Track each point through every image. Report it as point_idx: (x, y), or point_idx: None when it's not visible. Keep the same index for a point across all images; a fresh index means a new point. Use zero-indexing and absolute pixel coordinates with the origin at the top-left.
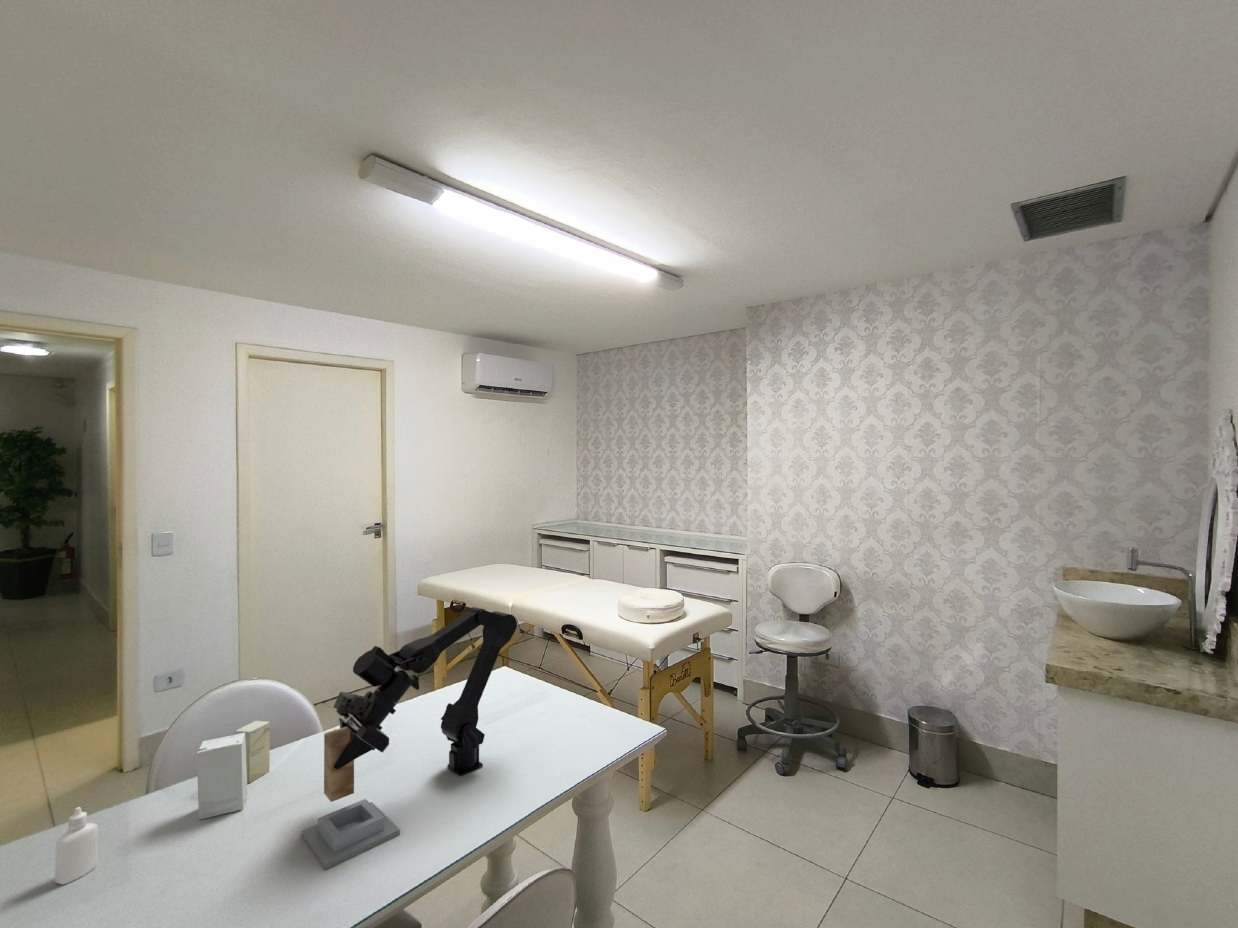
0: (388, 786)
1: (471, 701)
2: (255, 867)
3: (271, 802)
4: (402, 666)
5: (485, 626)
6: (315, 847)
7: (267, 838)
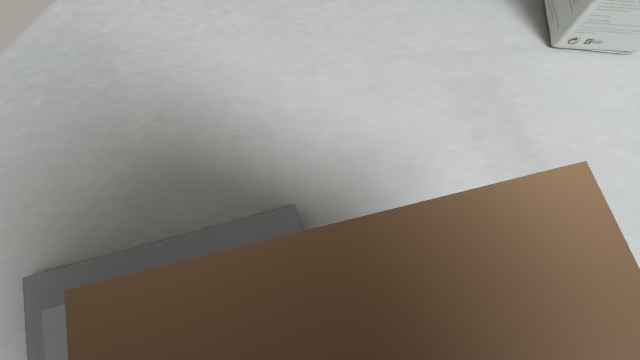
0: None
1: None
2: (198, 91)
3: (568, 121)
4: None
5: None
6: (156, 247)
7: (340, 115)
